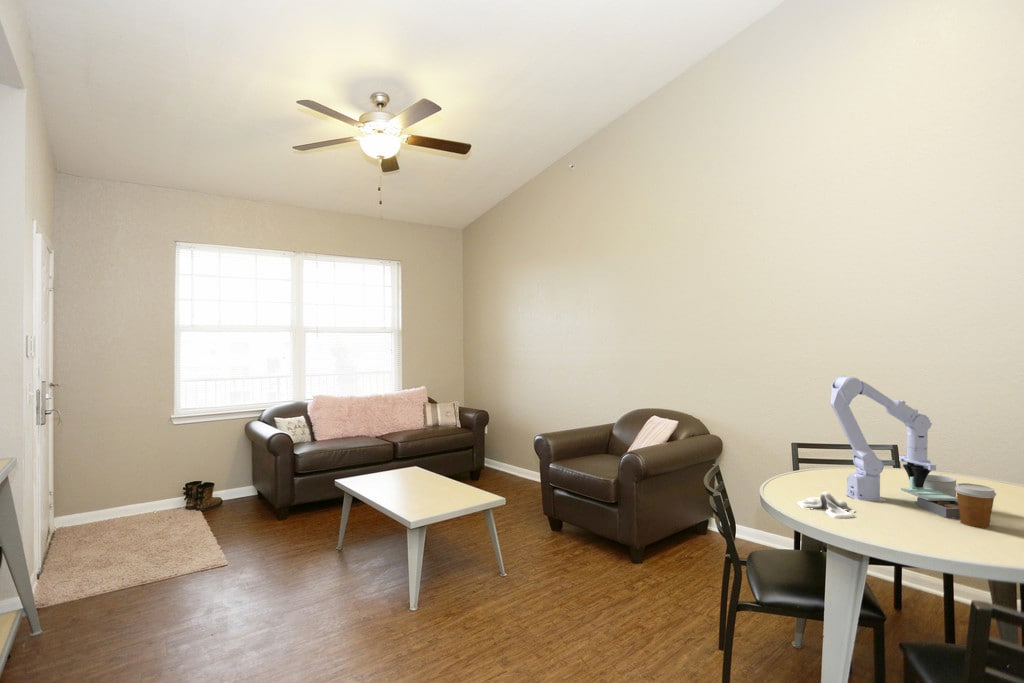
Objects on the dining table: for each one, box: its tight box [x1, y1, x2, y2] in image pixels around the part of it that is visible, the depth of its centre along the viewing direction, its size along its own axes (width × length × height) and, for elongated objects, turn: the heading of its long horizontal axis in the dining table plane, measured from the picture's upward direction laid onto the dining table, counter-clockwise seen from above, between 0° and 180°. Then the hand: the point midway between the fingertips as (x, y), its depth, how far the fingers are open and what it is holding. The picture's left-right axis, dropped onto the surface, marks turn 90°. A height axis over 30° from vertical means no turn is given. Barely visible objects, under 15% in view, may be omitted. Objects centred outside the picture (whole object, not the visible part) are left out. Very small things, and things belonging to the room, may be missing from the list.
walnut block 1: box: [932, 501, 950, 507], centre depth 175 cm, size 4×4×3 cm
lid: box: [900, 477, 958, 501], centre depth 180 cm, size 12×10×5 cm
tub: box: [916, 496, 960, 519], centre depth 173 cm, size 12×10×4 cm
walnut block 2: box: [944, 504, 959, 508], centre depth 170 cm, size 4×4×3 cm
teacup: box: [924, 474, 957, 497], centre depth 189 cm, size 14×11×8 cm
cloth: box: [797, 491, 857, 519], centre depth 178 cm, size 22×19×6 cm
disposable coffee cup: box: [955, 482, 997, 529], centre depth 161 cm, size 10×10×12 cm
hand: (916, 486), depth 185 cm, fingers closed
